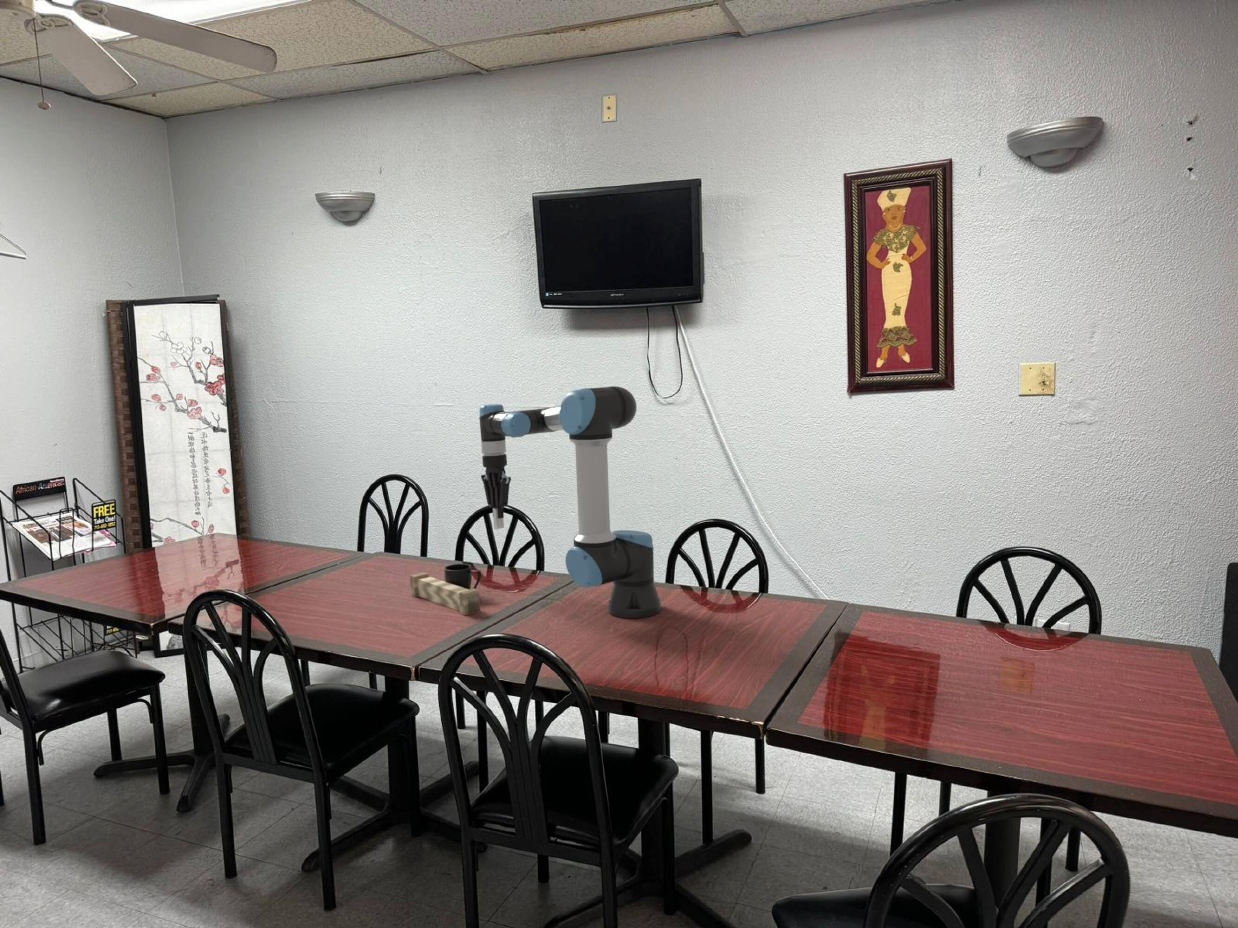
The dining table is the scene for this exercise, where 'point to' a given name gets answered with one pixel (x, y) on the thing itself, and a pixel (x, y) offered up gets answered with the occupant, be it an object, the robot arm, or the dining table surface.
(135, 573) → the dining table surface
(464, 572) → the mug
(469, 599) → the batten
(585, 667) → the dining table surface
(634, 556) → the robot arm
